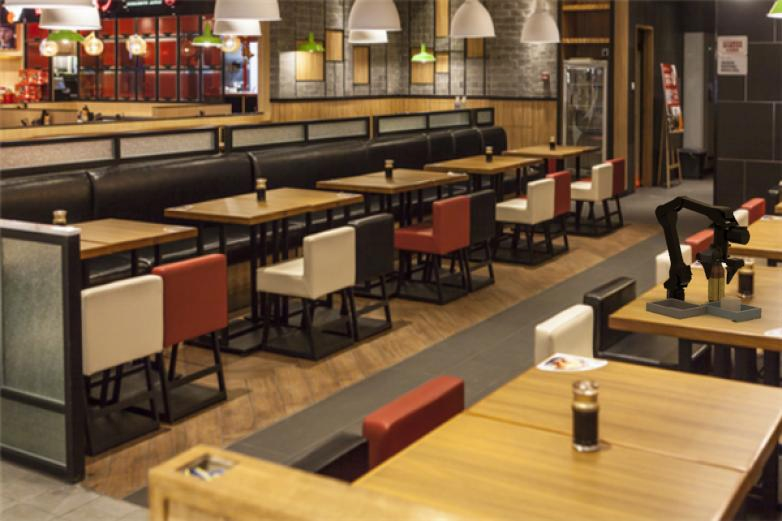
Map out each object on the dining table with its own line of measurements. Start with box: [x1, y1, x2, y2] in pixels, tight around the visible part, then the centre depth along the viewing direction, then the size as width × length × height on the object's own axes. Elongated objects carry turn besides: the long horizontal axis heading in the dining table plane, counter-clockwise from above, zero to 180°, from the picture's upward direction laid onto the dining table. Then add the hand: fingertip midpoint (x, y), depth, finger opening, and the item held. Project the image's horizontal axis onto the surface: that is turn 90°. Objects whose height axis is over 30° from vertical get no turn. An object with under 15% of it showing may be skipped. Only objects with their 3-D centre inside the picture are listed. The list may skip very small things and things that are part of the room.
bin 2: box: [700, 301, 763, 323], centre depth 374 cm, size 17×14×4 cm
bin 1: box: [645, 298, 706, 320], centre depth 377 cm, size 17×14×4 cm
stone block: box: [721, 295, 742, 312], centre depth 374 cm, size 5×5×6 cm
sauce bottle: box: [707, 261, 726, 303], centre depth 393 cm, size 7×6×20 cm
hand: (717, 282), depth 378 cm, fingers open, 9 cm apart
